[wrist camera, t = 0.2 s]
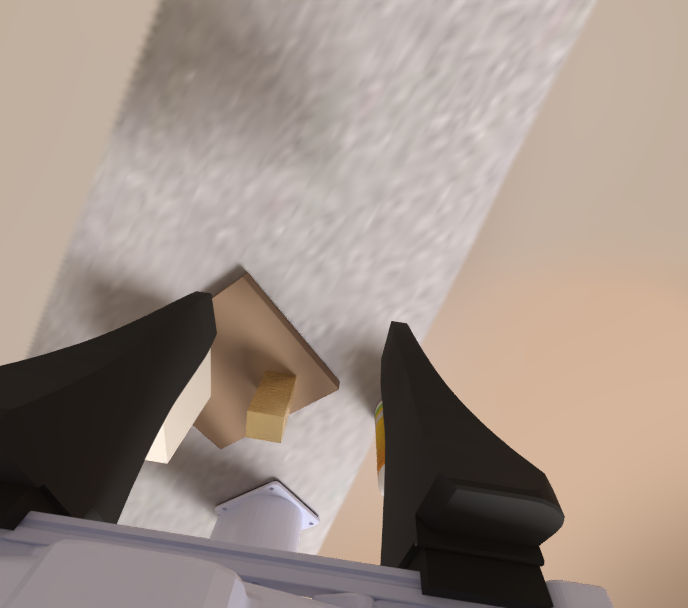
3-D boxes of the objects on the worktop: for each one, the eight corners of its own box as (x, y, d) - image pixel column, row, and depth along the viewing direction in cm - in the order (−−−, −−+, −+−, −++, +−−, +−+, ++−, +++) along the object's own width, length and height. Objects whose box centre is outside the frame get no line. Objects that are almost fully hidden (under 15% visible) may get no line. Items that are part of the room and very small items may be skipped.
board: (224, 440, 31) (220, 449, 30) (129, 356, 27) (121, 363, 26) (339, 381, 27) (338, 389, 26) (247, 272, 23) (242, 277, 22)
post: (293, 399, 26) (280, 443, 22) (263, 394, 26) (245, 436, 22) (296, 376, 25) (284, 417, 21) (265, 370, 25) (247, 410, 21)
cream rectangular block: (210, 396, 27) (167, 463, 21) (151, 385, 27) (90, 450, 21) (210, 347, 25) (161, 407, 19) (145, 335, 24) (75, 391, 18)
